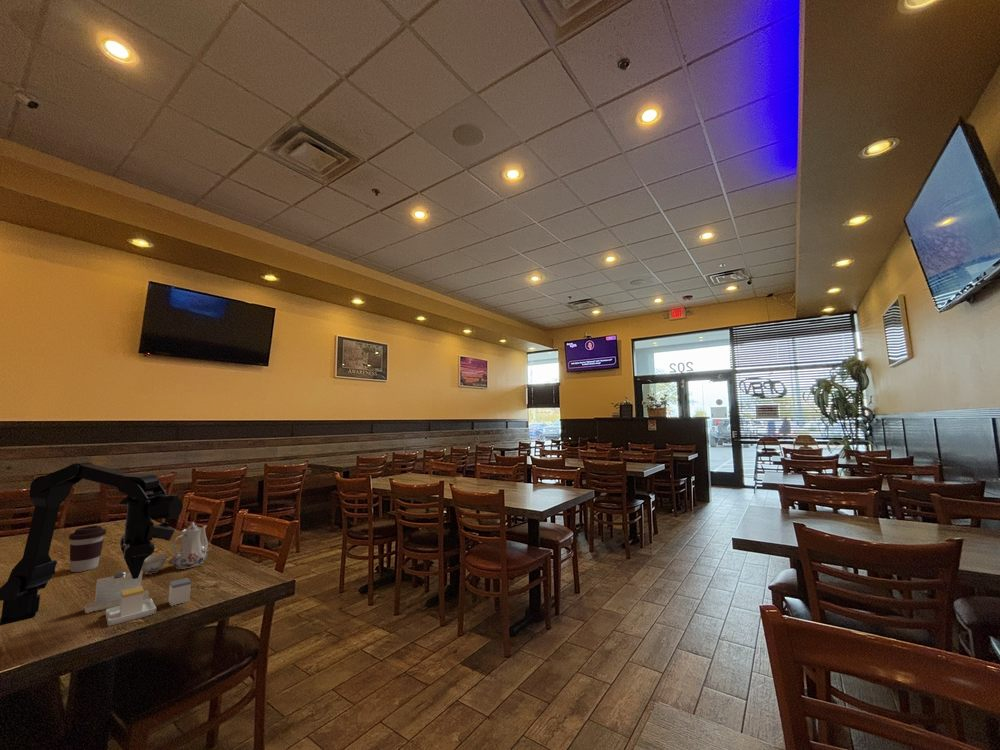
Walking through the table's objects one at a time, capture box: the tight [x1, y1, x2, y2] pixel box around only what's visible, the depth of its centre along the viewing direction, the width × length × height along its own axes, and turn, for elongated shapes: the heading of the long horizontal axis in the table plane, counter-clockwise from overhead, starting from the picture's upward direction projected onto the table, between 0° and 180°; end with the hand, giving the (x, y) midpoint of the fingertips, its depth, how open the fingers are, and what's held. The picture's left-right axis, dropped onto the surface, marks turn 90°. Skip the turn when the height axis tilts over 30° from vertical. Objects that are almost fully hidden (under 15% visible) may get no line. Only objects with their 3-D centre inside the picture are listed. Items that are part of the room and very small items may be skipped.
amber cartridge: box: [119, 585, 145, 617], centre depth 117 cm, size 4×4×6 cm
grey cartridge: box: [167, 577, 192, 607], centre depth 125 cm, size 4×4×6 cm
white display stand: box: [84, 570, 150, 614], centre depth 124 cm, size 14×4×9 cm, turn 137°
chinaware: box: [141, 521, 213, 575], centre depth 157 cm, size 28×17×17 cm, turn 176°
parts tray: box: [105, 597, 157, 627], centre depth 117 cm, size 10×10×2 cm
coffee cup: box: [68, 525, 107, 573], centre depth 153 cm, size 10×10×15 cm
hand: (133, 574), depth 118 cm, fingers open, 9 cm apart
